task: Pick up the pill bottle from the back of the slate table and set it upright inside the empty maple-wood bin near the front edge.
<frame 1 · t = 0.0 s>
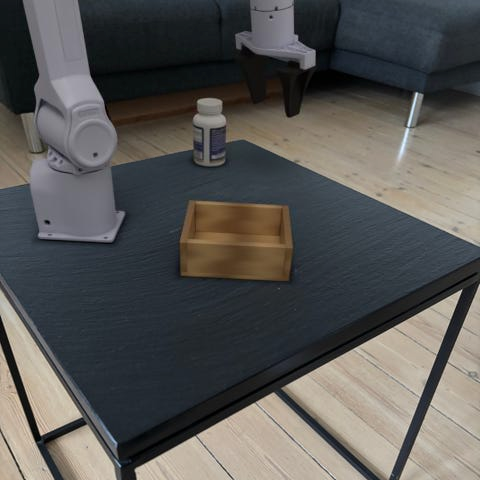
hand: (275, 108, 78), 11 cm above the table, tool pointing down, fingers open, 7 cm apart
pill bottle: (209, 162, 88), on the table
bin: (236, 255, 64), on the table
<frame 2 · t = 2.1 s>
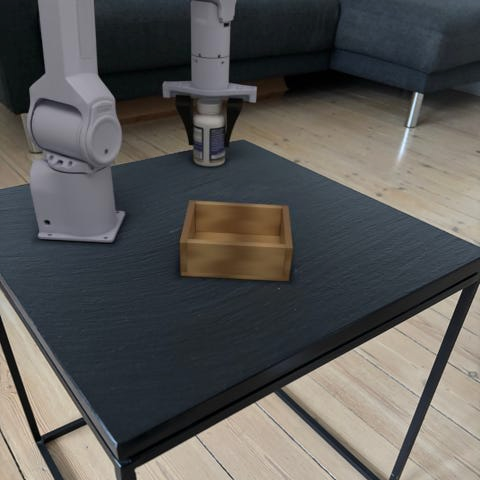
hand: (209, 144, 86), 3 cm above the table, tool pointing down, fingers closed on pill bottle, 5 cm apart
pill bottle: (209, 162, 88), on the table, touching gripper
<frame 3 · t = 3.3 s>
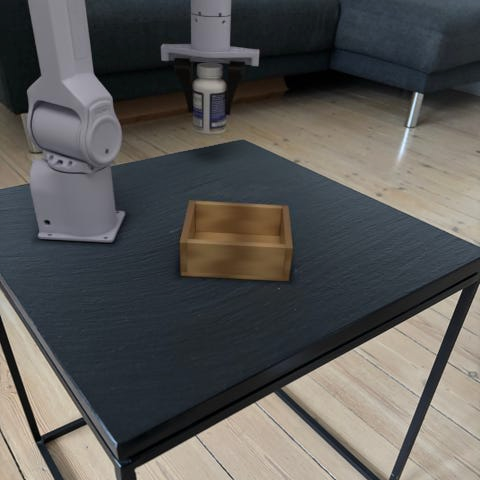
hand: (209, 112, 82), 8 cm above the table, tool pointing down, fingers closed on pill bottle, 5 cm apart
pill bottle: (209, 131, 84), point 5 cm above the table, touching gripper
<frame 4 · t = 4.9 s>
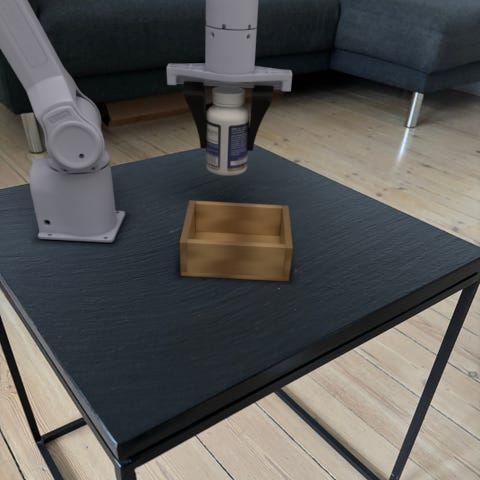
hand: (227, 146, 66), 10 cm above the table, tool pointing down, fingers closed on pill bottle, 5 cm apart
pill bottle: (226, 170, 68), point 7 cm above the table, touching gripper
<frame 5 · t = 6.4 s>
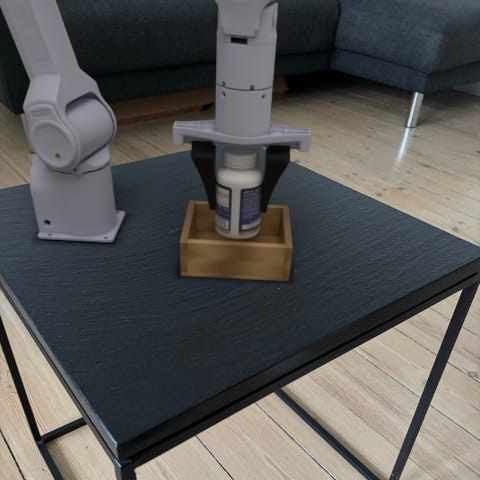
hand: (238, 207, 60), 6 cm above the table, tool pointing down, fingers closed on pill bottle, 5 cm apart
pill bottle: (237, 231, 62), point 3 cm above the table, touching gripper
when the fingers open (3 cm above the table, at t = 7.8 s): pill bottle stays where it is, resting on bin.
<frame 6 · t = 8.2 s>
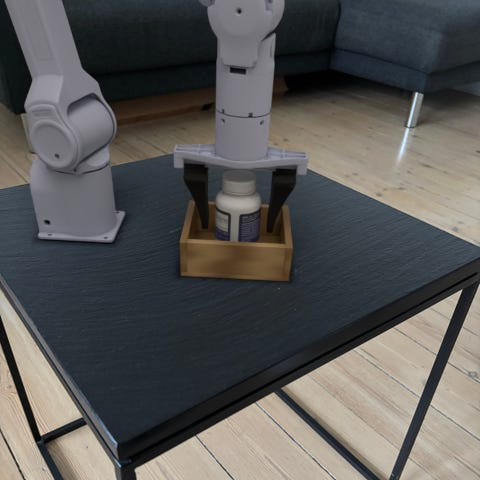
hand: (237, 227, 62), 4 cm above the table, tool pointing down, fingers open, 7 cm apart
pill bottle: (236, 252, 64), resting on bin
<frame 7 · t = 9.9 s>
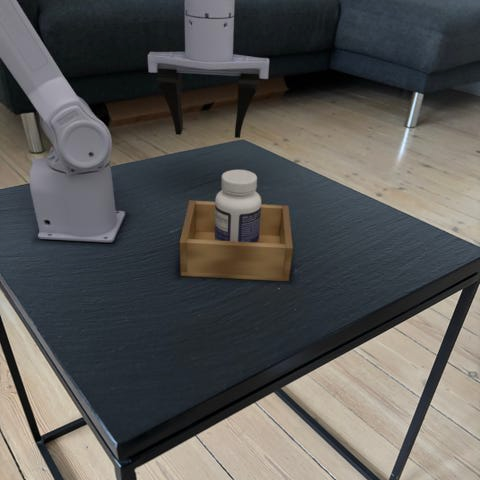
hand: (208, 133, 68), 10 cm above the table, tool pointing down, fingers open, 7 cm apart
nothing on the table moved.
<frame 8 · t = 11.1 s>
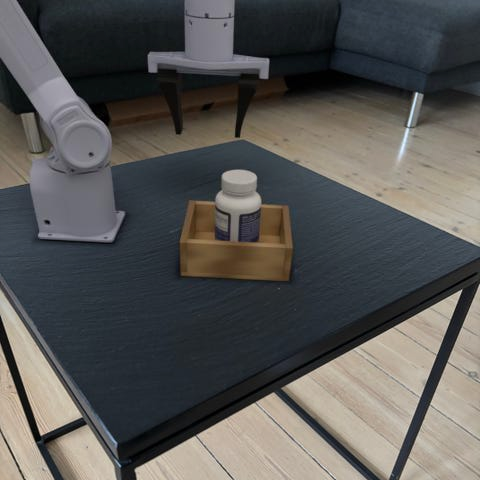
hand: (208, 133, 68), 10 cm above the table, tool pointing down, fingers open, 7 cm apart
nothing on the table moved.
at the end: pill bottle inside the target area in the bin (0.0 cm from its centre), point 0.3 cm above the bin's base; pill bottle tilted 0°; the gripper is holding nothing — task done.
